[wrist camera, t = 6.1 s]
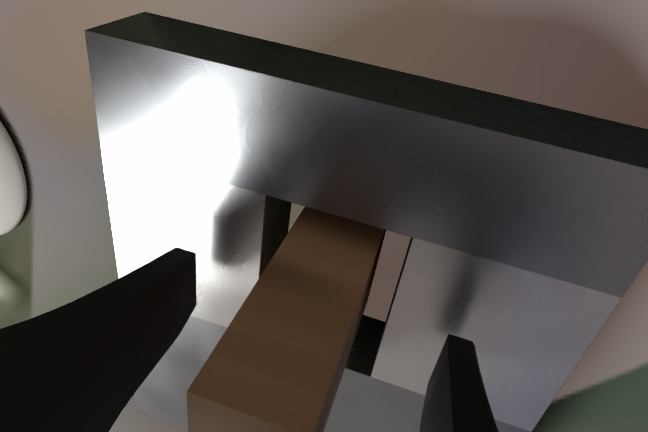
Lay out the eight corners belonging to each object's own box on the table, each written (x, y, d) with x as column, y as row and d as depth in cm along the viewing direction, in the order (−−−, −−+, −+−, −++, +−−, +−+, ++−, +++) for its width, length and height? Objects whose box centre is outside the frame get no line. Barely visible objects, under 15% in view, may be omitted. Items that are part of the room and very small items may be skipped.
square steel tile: (464, 475, 21) (460, 537, 19) (168, 367, 23) (137, 412, 21) (666, 133, 12) (700, 182, 10) (144, 11, 14) (84, 30, 12)
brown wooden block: (367, 300, 17) (288, 538, 11) (303, 280, 18) (190, 497, 11) (392, 207, 15) (310, 438, 9) (317, 186, 15) (186, 390, 9)
